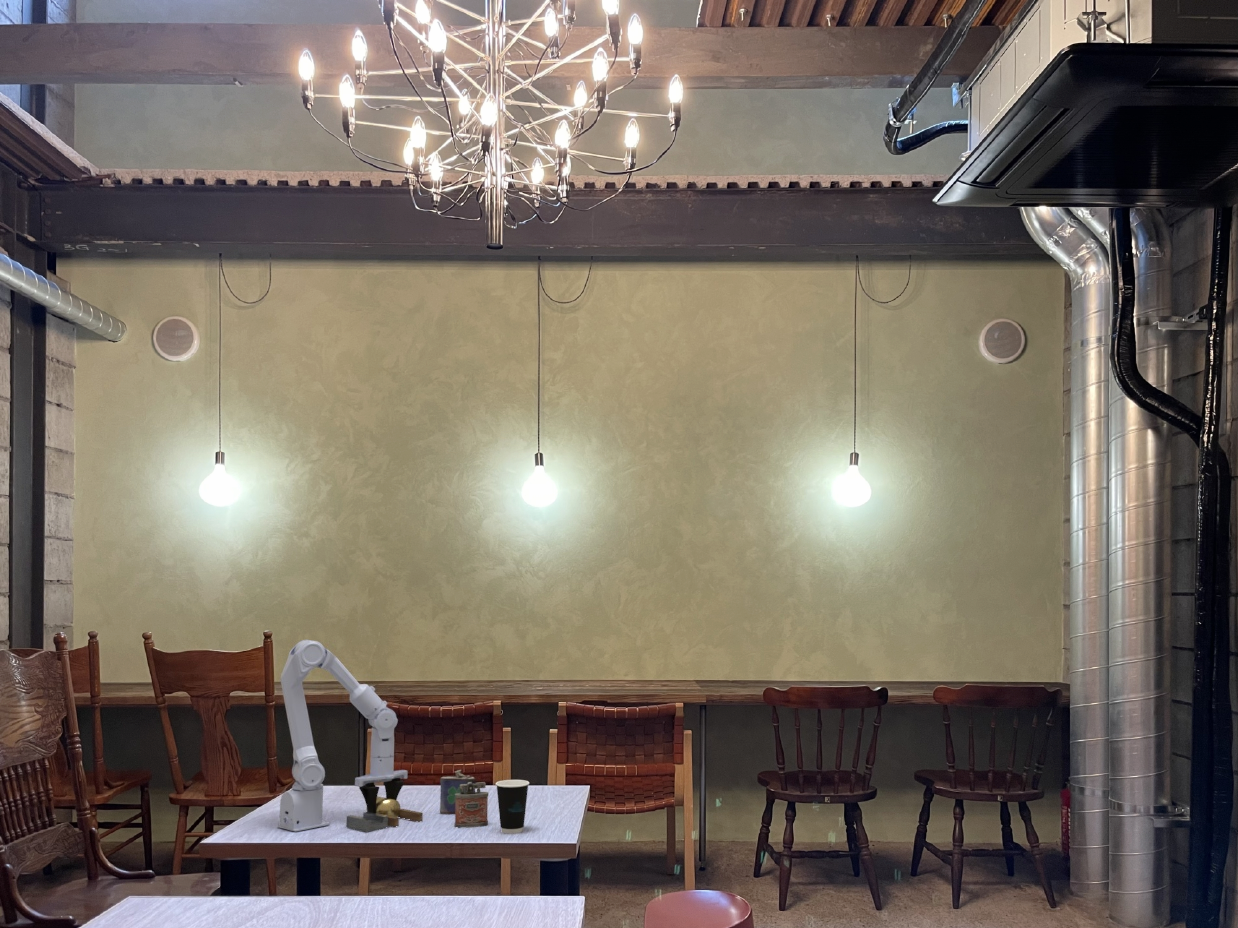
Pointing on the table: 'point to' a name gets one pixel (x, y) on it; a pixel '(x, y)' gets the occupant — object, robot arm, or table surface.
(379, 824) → the v block
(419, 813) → the brown u-shaped block
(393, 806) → the gold capsule
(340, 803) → the table surface
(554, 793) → the table surface
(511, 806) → the dixie cup
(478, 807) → the lighter
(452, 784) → the flask
